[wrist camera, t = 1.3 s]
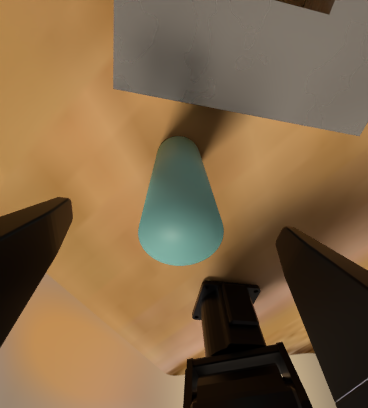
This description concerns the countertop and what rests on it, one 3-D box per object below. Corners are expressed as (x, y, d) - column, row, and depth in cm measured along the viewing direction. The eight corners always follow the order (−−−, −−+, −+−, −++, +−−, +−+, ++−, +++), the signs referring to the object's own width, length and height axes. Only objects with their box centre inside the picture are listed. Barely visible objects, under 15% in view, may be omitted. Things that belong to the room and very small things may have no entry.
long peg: (195, 180, 17) (212, 269, 9) (154, 174, 16) (135, 261, 9) (204, 140, 15) (234, 205, 7) (159, 132, 15) (141, 192, 7)
